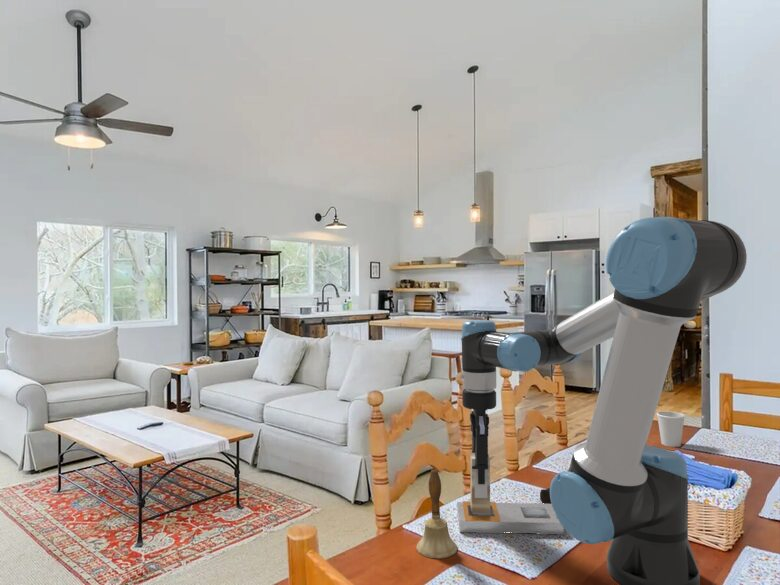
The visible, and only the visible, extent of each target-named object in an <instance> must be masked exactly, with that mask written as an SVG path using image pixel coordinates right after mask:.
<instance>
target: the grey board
mask: <svg viewBox="0 0 780 585" xmlns="http://www.w3.org/2000/svg"><path fill="white" fill-rule="evenodd" d="M456 507H457V508H456V510H457V511H456V512H457V513H456V514H457V523H458V531H459V533H460V532H473V533H472V534H502V533H504V532H505V533H506V532H510V533H511V532H512V533H540V534H539V535H547V534H564V535H565V531H564V530H565V529H564V527H563V526H562V525H561V523H560V522H559V520H558V518H557V517H556V513H555V511H554V510H553V507H552V504H543V503H530V502H529V503H527V502H523V503H521V502H520V503H519V502H496V501H490V513H472V510H471V500H469V501H467V500H466V501H463V500H462V501H458V502H456ZM474 532H476V533H474ZM499 532H500V533H499ZM541 533H542V534H541Z"/></svg>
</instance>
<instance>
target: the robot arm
mask: <svg viewBox="0 0 780 585" xmlns="http://www.w3.org/2000/svg"><path fill="white" fill-rule="evenodd" d="M747 257H748V256H747V250H746V246H745V243H744V241H743V240H742V238H741V236H740V235H739V234H738V233H737V232H736V231H735V230H733V229H732V228H731V227H729V226H727V225H726V224H723V223H721V222H717V221H713V220H706V219H705V220H699V219H698V220H697V219H689V218H679V217H673V216H663V215H661V216H655V217H646V218H641V219H637V220H634V221H633V222H631V223H629V224H628V225H627V226H625V227H624V228H622V229H621V230H620V231H619V232H618V233H617V234H616V236H615V237H614V239H612V242H611V244H610V246H609V247H608V250H607V254H606V259H605V269H606V274H608V275H609V282H610V284H611V285H612V286H613V288H614V290H613V291H612V292H610V293H609V294H606V295H605V296H603V297H602V298H600V299H598V300H597V301H595V302H593V303H592V304H590V305H588V306H586V307H585V308H583V309H581V310H579V311H578V312H576V313H575V314H573V315H571V316H569V317H567V318H566V319H564V320H562V321H561V322H560V323H558V324H556V325H554V326H551V327H550V328H549V329H544V330H543V329H542V330H533V331H532V330H531V331H530V330H529V331H517V332H504V331H497V328H496V323H495V321H492V320H485V319H484V320H483V319H482V320H479V319H477V320H476V319H475V320H467V321H466V320H465V321H464V322H463V323H462V325H461V329H462V330H461V338H460V340H461V366H462V372H461V373H462V374H460V375H459V379H461V380H462V388H463V390H462V391H461V392H462V393H461V394H462V395H461V396H462V398H461V400H462V402H461V403H462V406H463V408H465V409H467V410H472V411H471V412H470V414H469V419H470V420H469V421H470V429H471V430H470V431H471V446H472V447H471V448H472V449H471V453H475V466H472V469H475V498H487V469H488V467H489V466H488V455H489V424H490V417H489V415H488V413H486V412H487V411H488V410H493V409H495V408H497V392H496V390H495V389H496V388H497V368H500V369H504V370H508V371H511V372H521V373H522V372H523V373H524V372H530V371H532V370H533V369H534V368H535V367H540V366H549V365H550V366H551V365H566V364H569V363H572V362H575V361H577V360H578V359H579V358H580V357H581V355H582V354H583V353H584V352H586V351H588V350H590V349H591V348H594V347H596V346H598V345H599V344H602V343H604V342H606V341H608V340H610V339H612V341H611V344H610V349H609V352H608V357H607V360H606V363H605V369H604V371H603V375H602V379H601V384H600V387H599V390H598V396H597V400H596V404H595V407H594V411H593V414H592V418H591V421H590V426H589V429H588V433H587V438H586V442H583V443H580V444H578V445H576V447H575V448H574V449H573V453H572V457H571V459H570V464H569V467H568V469H567V470H563V471H560V472H559V473H557V474H556V475H555V476H554V477H553V478H552V479H551V481H550V486H549V488H550V499H551V504H552V507H553V510H554V511H555V513H556V517H557V518H558V520H559V522H560V523H561V525H562V526H563V527H564V530H565V531H566V532H567V533H568V535H570V536H571V537H572V538H573V539H575V540H577V541H578V542H580V543H583V544H587V545H596V544H600V543H608V542H610V545H609V547H608V549H607V553H606V568H607V569H606V570H607V572H608V573H609V575H610V577H612V578H613V580H615V581H616V582H617V583H619V584H620V585H701V582H700V581H701V580H700V579H701V574H700V570H699V567H698V564H697V563H698V562H697V560H696V558H695V556H694V553H693V549H692V547H691V544H690V541H689V521H688V520H689V516H688V515H689V508H688V506H689V504H688V502H689V501H688V500H689V498H688V497H689V496H688V494H689V493H688V492H689V489H688V488H689V486H688V485H689V480H690V479H689V476H688V466H687V461H686V459H684V457H682V456H681V455H680V454H678V453H676V452H674V451H671V450H668V449H666V448H661V447H656V446H651V445H647V441H648V438H649V435H650V432H651V428H652V425H653V422H654V417H655V415H656V413H657V407H658V404H659V401H660V397H661V394H662V390H663V388H664V383H665V380H666V378H667V374H668V371H669V367H670V364H671V360H672V357H673V353H674V351H675V348H676V344H677V340H678V337H679V334H680V330H681V327H682V326H683V325H684V324H686V323H688V322H690V321H692V320H695V319H696V318H697V315H698V311H699V307H700V306H701V302H702V301H705V300H707V299H709V298H711V297H712V298H713V297H714V296H716V295H719V294H720V293H722V292H725V291H727V290H729V289H730V288H732V287H733V286H734V285H736V284H737V282H738V281H739V280H740V278H741V277H742V275H743V273H744V271H745V269H746V265H747Z"/></svg>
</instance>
